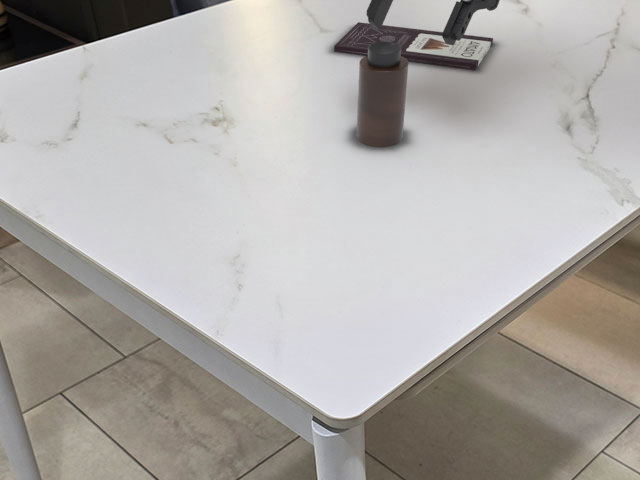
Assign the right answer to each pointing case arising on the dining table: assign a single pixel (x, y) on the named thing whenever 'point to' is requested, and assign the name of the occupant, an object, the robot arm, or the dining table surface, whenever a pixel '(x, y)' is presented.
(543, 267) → the dining table surface
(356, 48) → the chocolate bar
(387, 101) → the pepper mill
